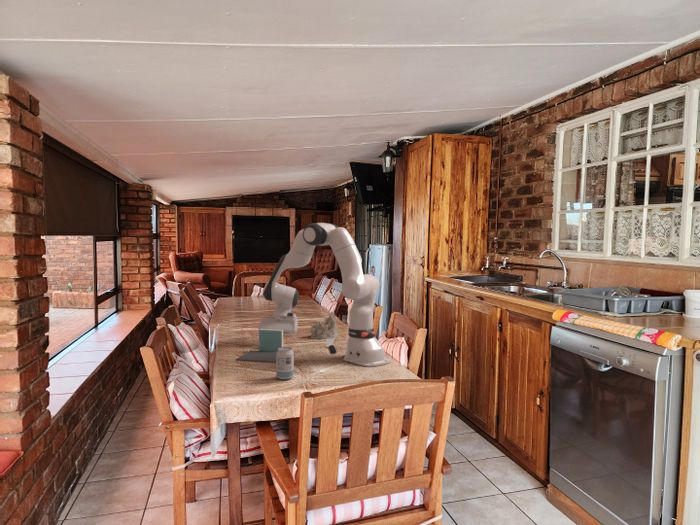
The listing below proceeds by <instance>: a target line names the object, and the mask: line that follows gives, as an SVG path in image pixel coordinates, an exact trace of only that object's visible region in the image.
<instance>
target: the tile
mask: <svg viewBox="0 0 700 525" xmlns="http://www.w3.org/2000/svg"><path fill="white" fill-rule="evenodd" d="M281 347H284V334H283V330H274V329H258V351H270V352H277V351H278V348H281Z"/></svg>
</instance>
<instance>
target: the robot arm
mask: <svg viewBox="0 0 700 525" xmlns="http://www.w3.org/2000/svg"><path fill="white" fill-rule="evenodd" d="M318 246H320V247H321V246H330V248H331V250H332V252H333V255H334V257H335V259H336V261H337V262H336V263H337V264H338V266H339V269H340V273H341V280H342V284H341V292H342V293H341V294H343V296H344V297H345V299H348V300H351V301H353V302H352V305H351V307H350V309H349V317H348V319H349V320H348V321H349V323H348V324H349V326H348V330H347V334H348V340H347V341H346V346H345V347H346V348H345V356H344V357H343V361H345V362H348V361H349V363H352V364H356V365H358V366H359V365H360V366H362V367H369V368H370V367H372V368H373V367H378V366H384V365H388V364H390V363H391V359H389V358H387V357H386V355H385V354H386V353H385V349H384V346H383V345H381V343H380V342H379V339H377V338H376V335H377V331H375V329H374V310H375V309H374V308H375V303H376V299H377V298H376V297H377V294H378V292H379V290H380V285H381V284H380V281H379V279H378V277H376V276H375V275H372V274H369V273H365V274H364V272H363V267H362V263H363V260H362V256H361V254H360V252H359V250H358V248H357V245H356V243H355V241H354V239H353V237H352V236H351V234H350V233H349V231H348V230H347V229H346V228H345V227H343V226H342V227H341V226H338V225H336V224H335V223H327V222H317V223H315V222H314V223H313V222H312V223H310V224H308V225H306V226H305V227H304V228H303V229H301V230H299V231H298V233H297V234H296V236H295V238H294V240H293V243H292V245H291V249H290V250H289V251H288V253H287V254H283V255H282V256H281V257H280V259H279V261H278V262H277V264H276V266H275V268H274V270H273V272H272V274H271V276H270V278H269V280H268V281H267V283H265V284H264V287H263V289H262V297H263V298H264V299H265V300H266V301H268V302H274V303H276V306H275V309H274V310H273V314H272V316H268V315H267V316H264V317H261V319H260V322H259V324H258V327H257V330H259V329H274V330H283V335H296V334H297V333H298V329H299V328H298V327H299V325H298V323H299V322H298V321H299V320H298V316H297V314H295V313H293V312H292V310H293V308H295V307H296V306H297V305H298V299H299V298H300V297H299V296H300V293H299V291H298V289H297V288H295V287H292V286H288V285H285V284H281V283H279V282H278V281H279V278H280V277H281V275H282V273H283V272H284V271H285V270H287V269H299V268H300V269H301V268H304V267H306V266H307V265H308V264H309V263H310V262H311V259H312V258H313V254H314V252H315V251H314V250H315V248H316V247H318Z"/></svg>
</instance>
